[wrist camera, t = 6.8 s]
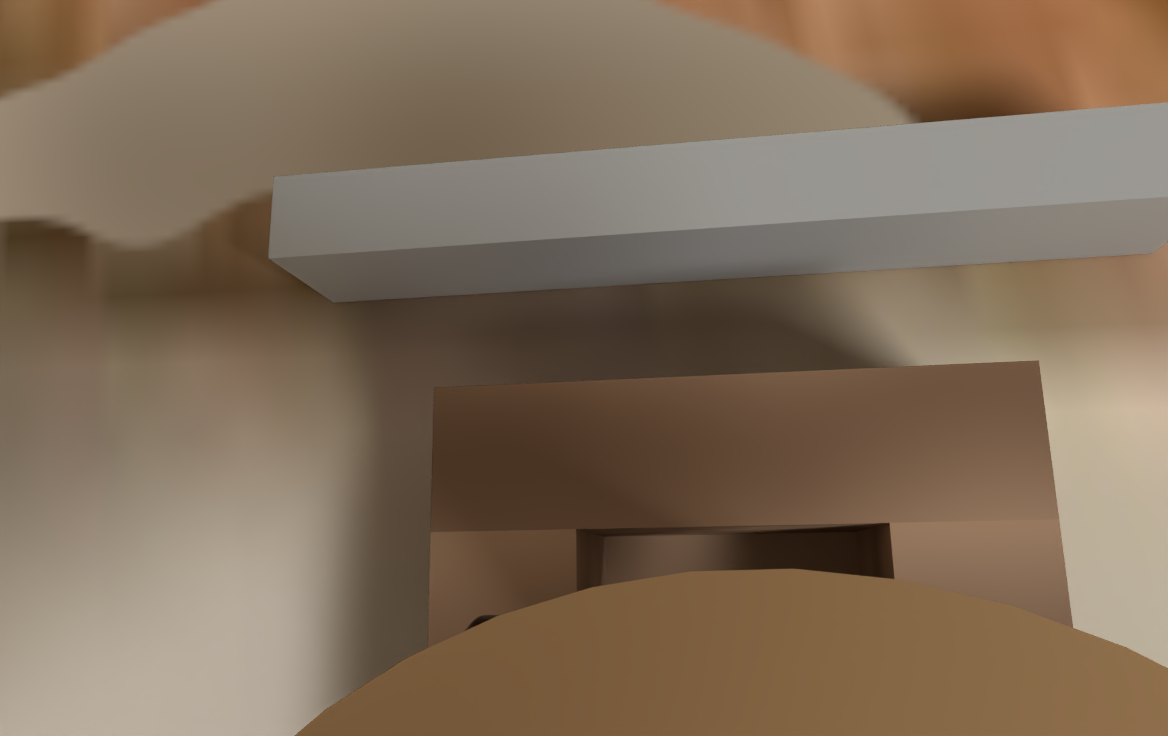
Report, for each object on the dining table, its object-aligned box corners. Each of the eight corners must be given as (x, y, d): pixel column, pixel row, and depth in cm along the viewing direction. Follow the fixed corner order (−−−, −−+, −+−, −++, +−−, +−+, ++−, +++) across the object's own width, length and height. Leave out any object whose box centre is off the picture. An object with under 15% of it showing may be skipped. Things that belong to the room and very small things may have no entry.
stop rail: (1152, 253, 21) (1234, 192, 17) (333, 302, 24) (268, 258, 20) (1139, 173, 21) (1217, 98, 18) (337, 231, 24) (273, 176, 21)
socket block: (1023, 945, 18) (1131, 1082, 13) (493, 921, 20) (417, 1036, 15) (965, 409, 21) (1038, 360, 16) (497, 427, 22) (433, 387, 17)
